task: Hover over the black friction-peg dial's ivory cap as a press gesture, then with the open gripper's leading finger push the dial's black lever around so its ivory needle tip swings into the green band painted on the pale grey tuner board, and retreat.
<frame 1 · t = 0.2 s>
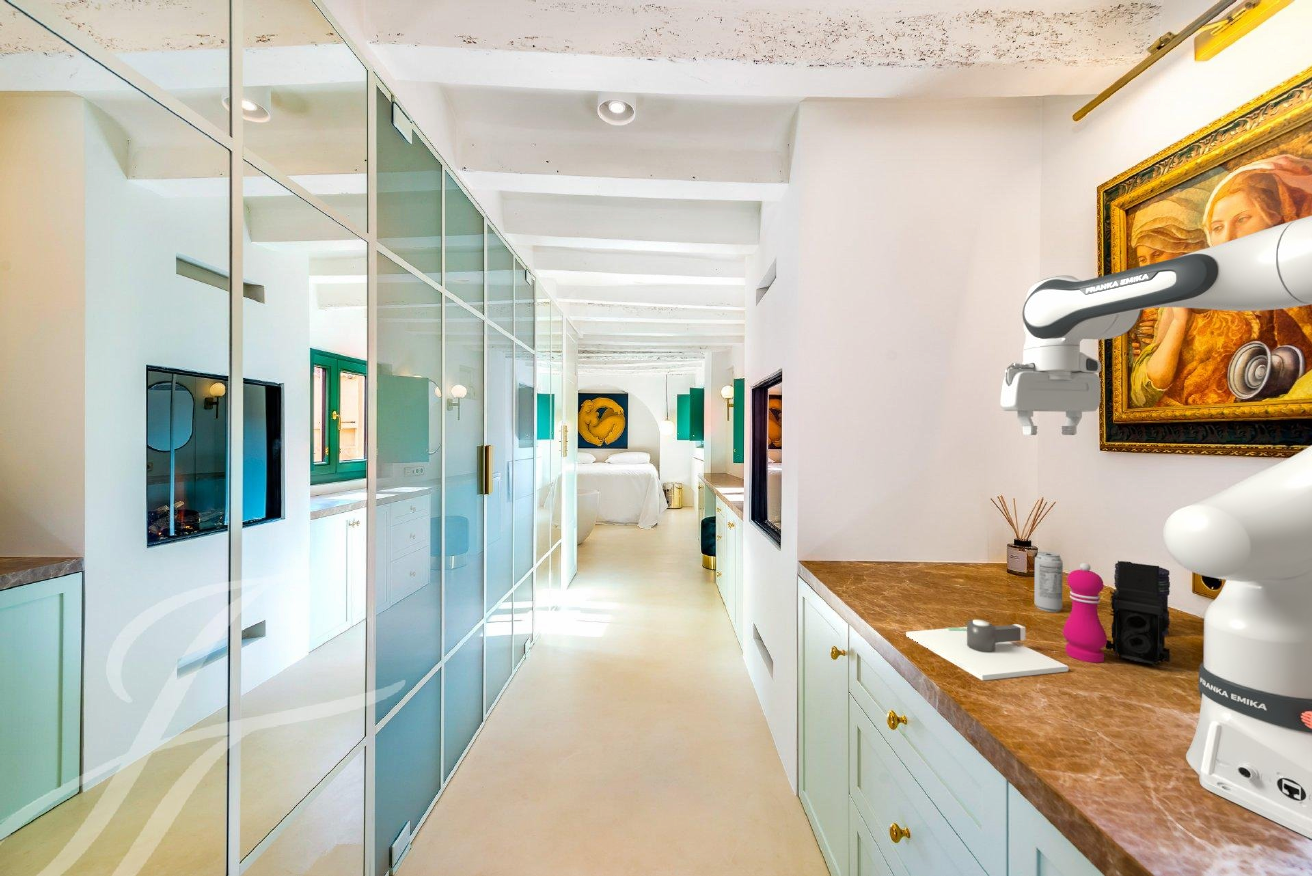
hand: (1049, 435, 100), 47 cm above the countertop, fingers open, 8 cm apart
storage jar: (1140, 629, 125), on the countertop
camera: (1137, 659, 109), on the countertop
dial: (996, 633, 112), point 4 cm above the countertop, hinge at 0.0°
tuner board: (980, 652, 112), on the countertop
pepper mill: (1084, 657, 110), on the countertop
energy drink can: (1048, 609, 139), on the countertop
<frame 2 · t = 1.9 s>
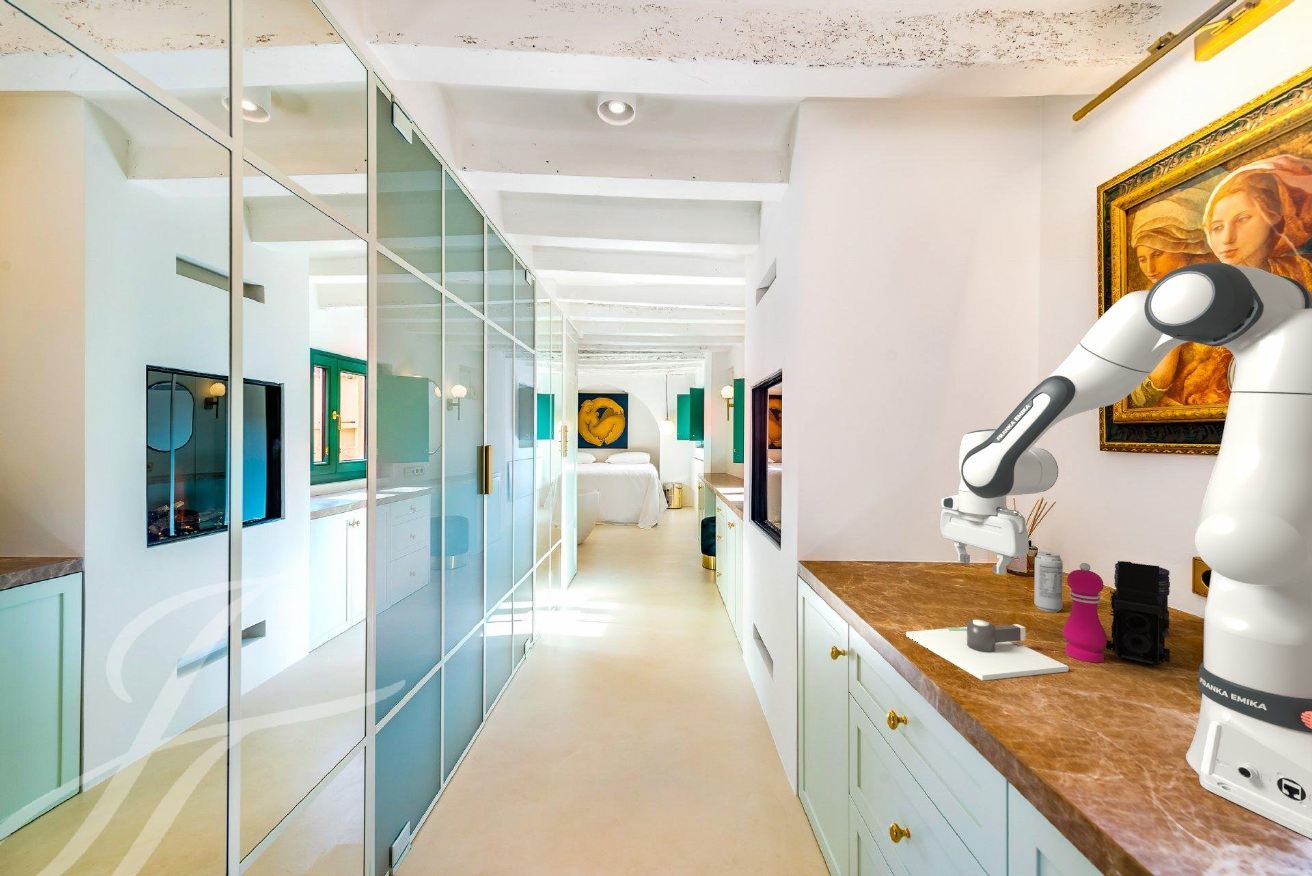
hand: (980, 567, 112), 18 cm above the countertop, fingers open, 8 cm apart
nothing on the countertop moved.
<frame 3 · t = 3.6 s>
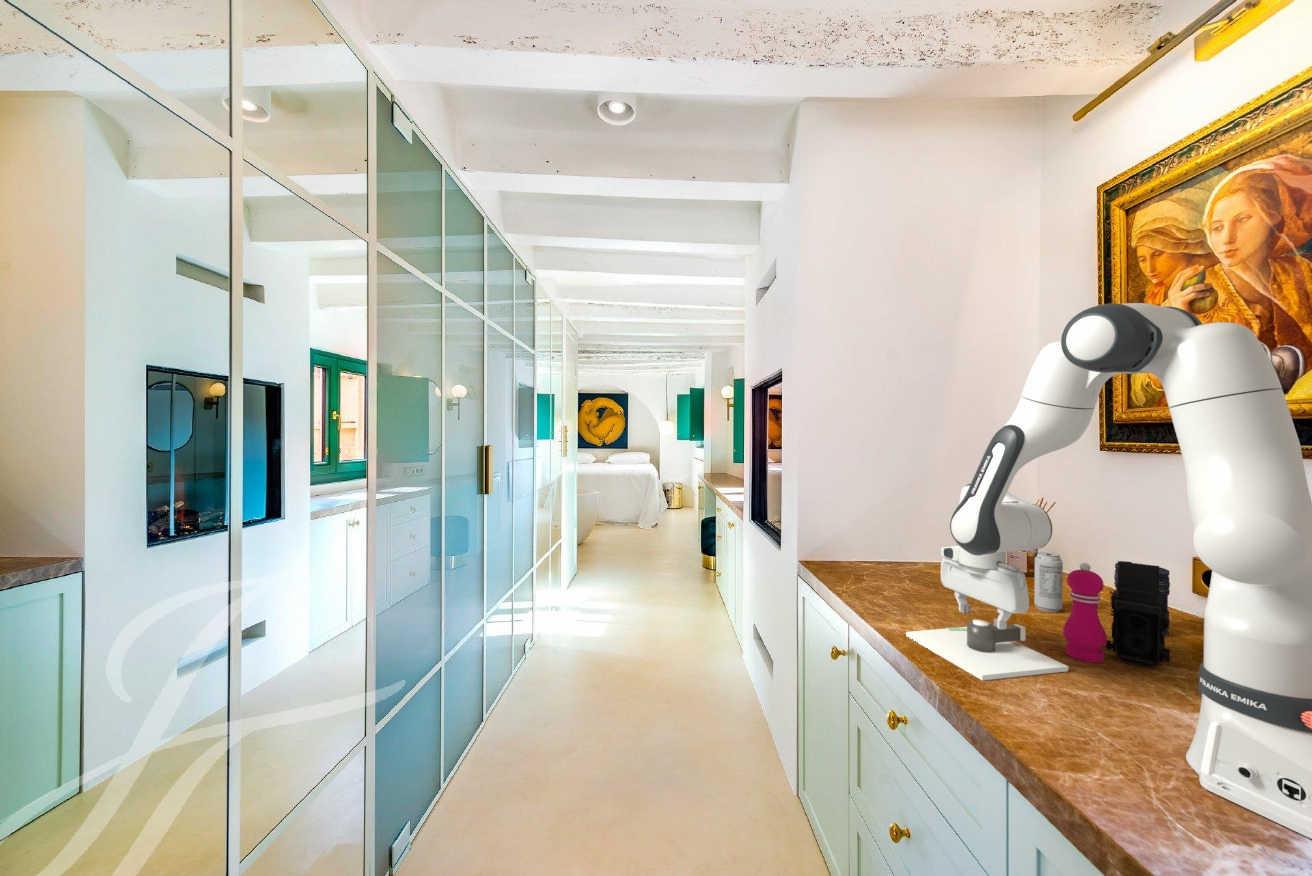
hand: (981, 620, 112), 7 cm above the countertop, fingers open, 8 cm apart
nothing on the countertop moved.
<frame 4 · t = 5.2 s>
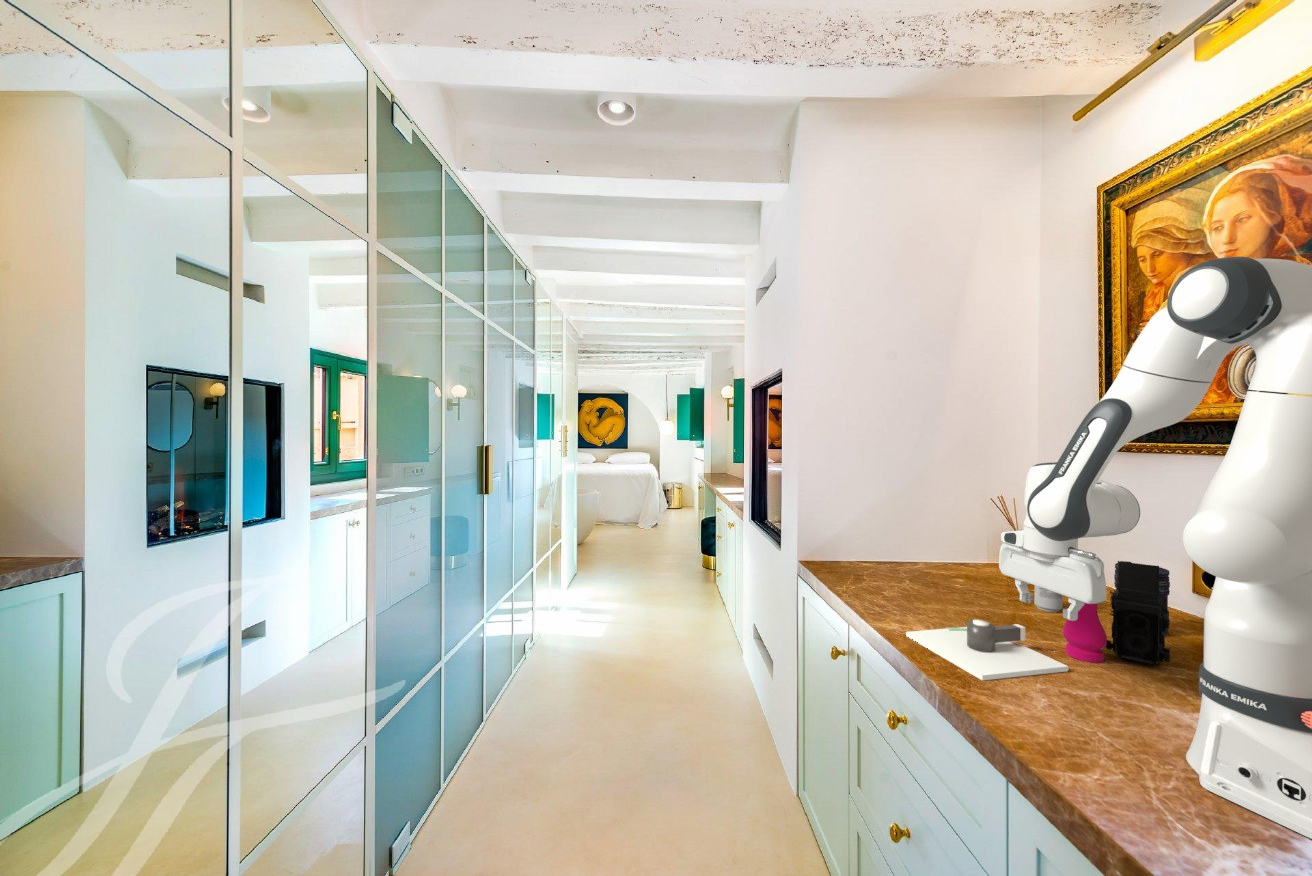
hand: (1047, 610, 104), 12 cm above the countertop, fingers open, 8 cm apart
nothing on the countertop moved.
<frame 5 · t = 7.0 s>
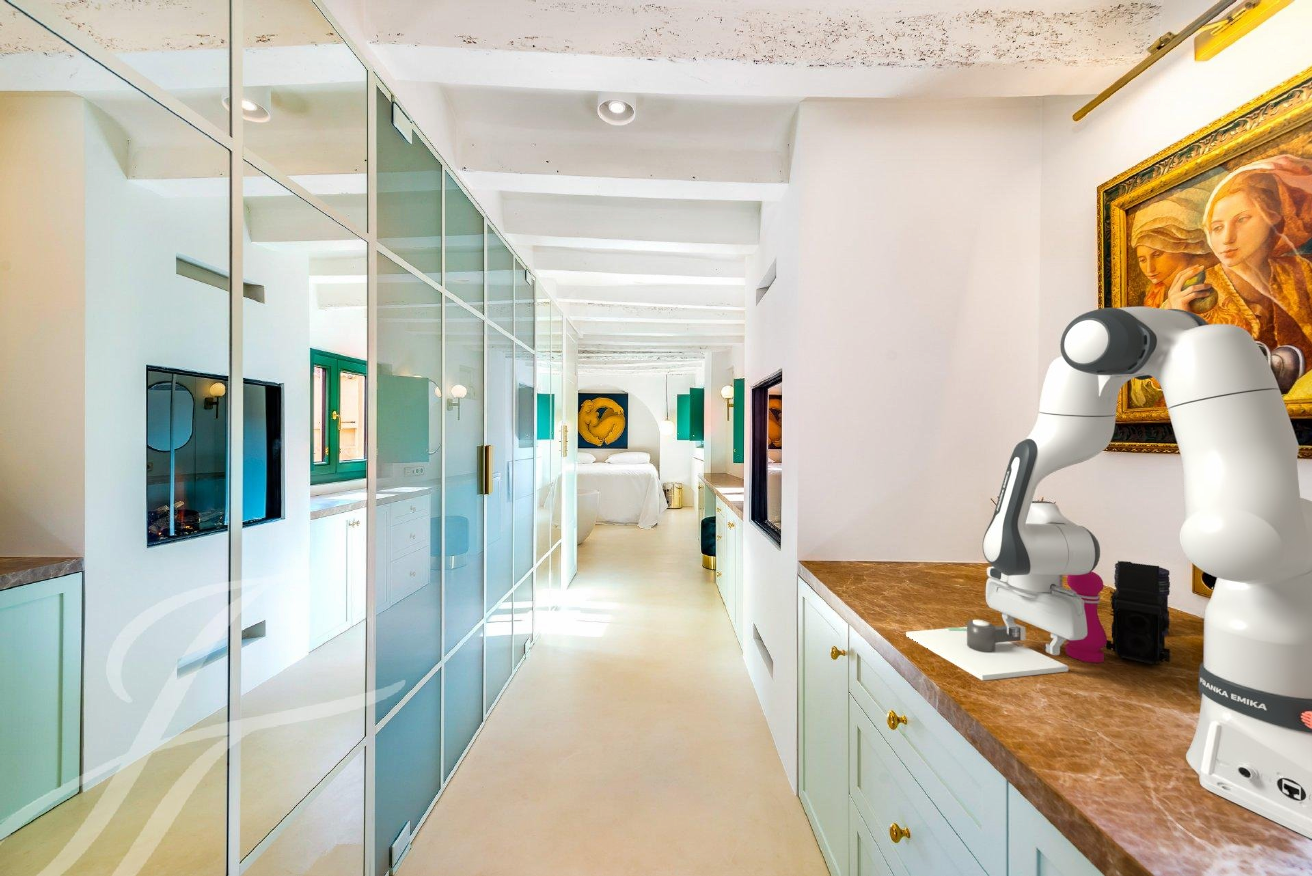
hand: (1032, 644, 107), 4 cm above the countertop, fingers open, 8 cm apart
dial: (996, 633, 112), point 4 cm above the countertop, hinge at 0.0°, touching gripper
everything else where it was.
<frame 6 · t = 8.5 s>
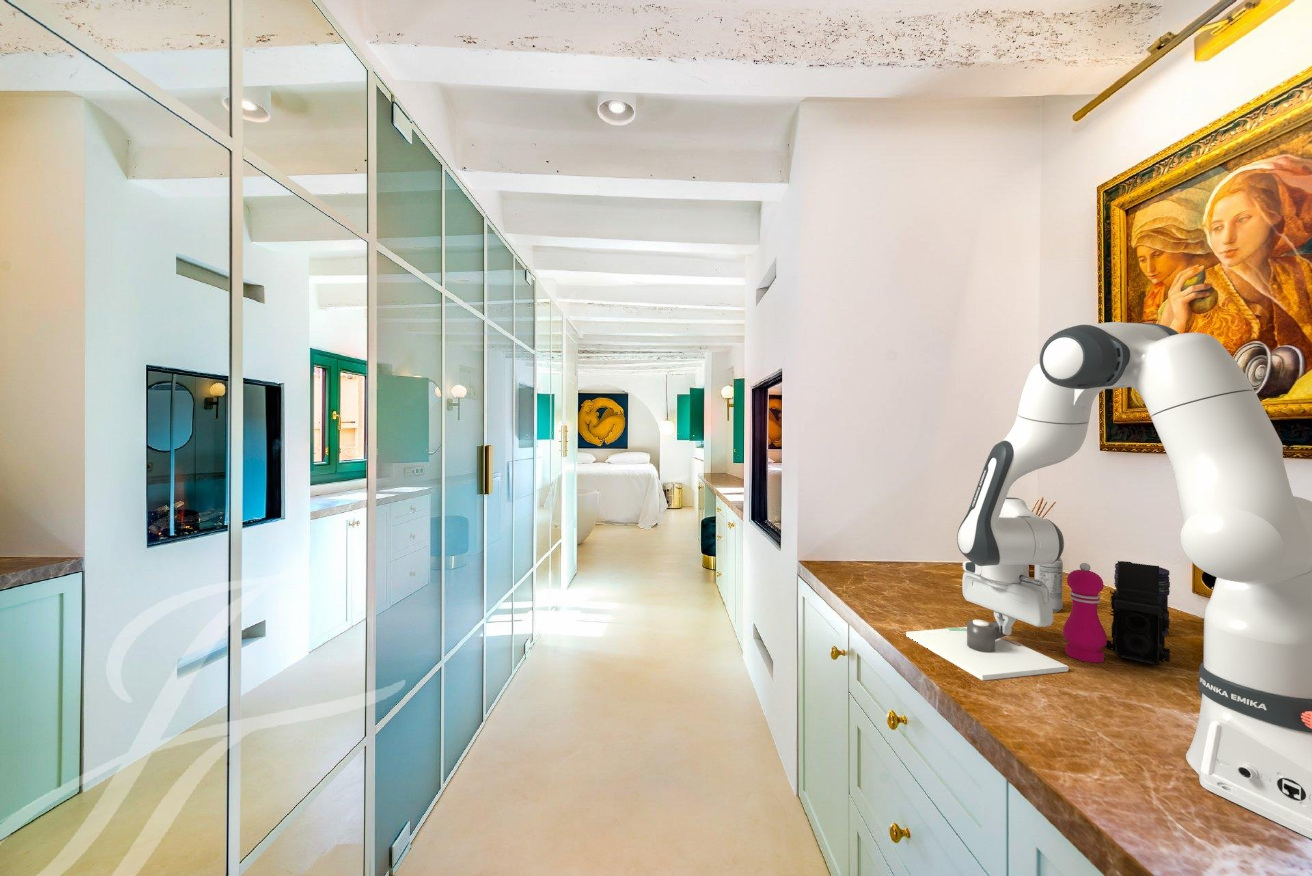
hand: (1004, 633, 113), 3 cm above the countertop, fingers closed, pressing on dial
dial: (990, 630, 114), point 4 cm above the countertop, hinge at 19.1°, touching gripper
everything else where it was.
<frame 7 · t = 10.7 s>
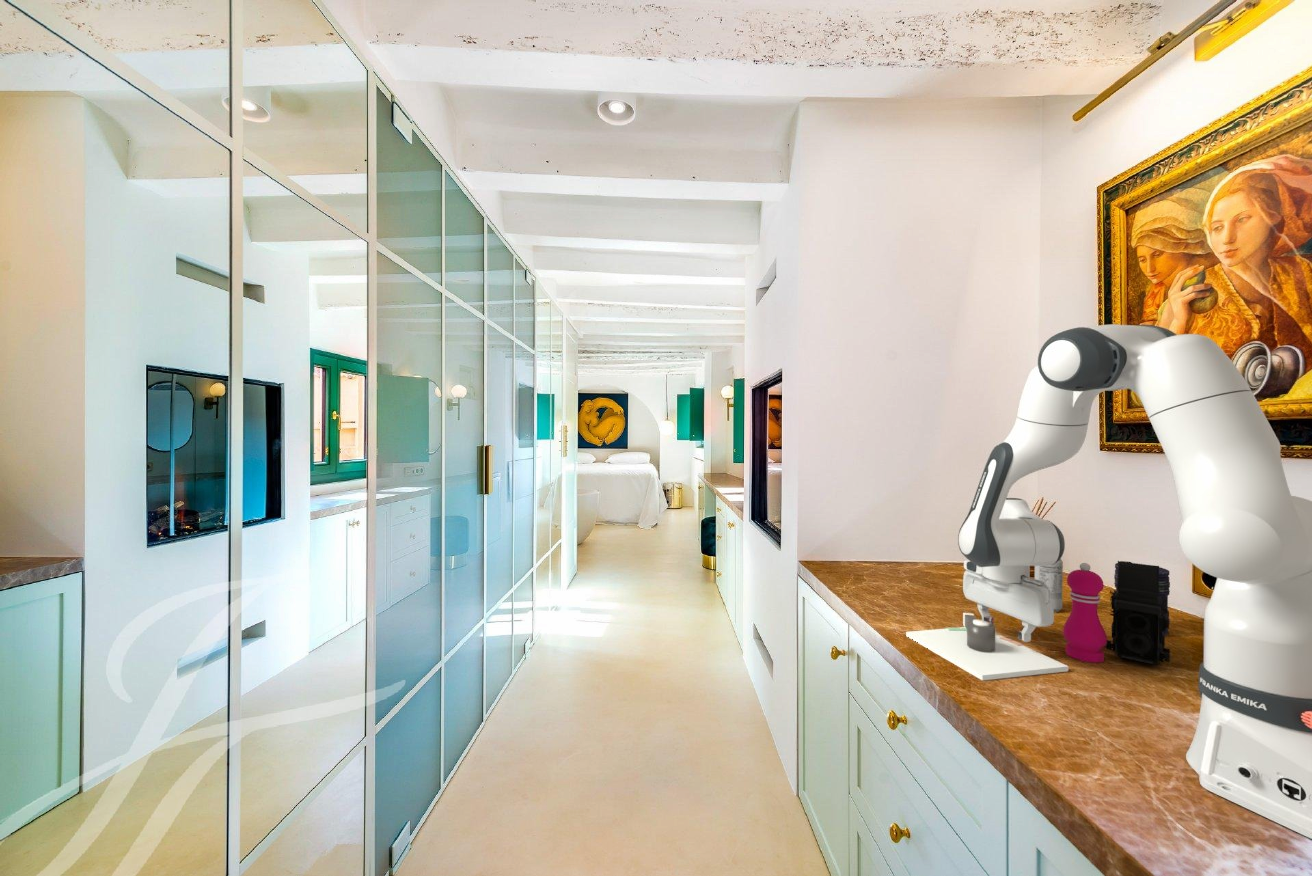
hand: (1005, 632, 114), 3 cm above the countertop, fingers open, 8 cm apart
dial: (975, 627, 115), point 4 cm above the countertop, hinge at 61.1°
everything else where it was.
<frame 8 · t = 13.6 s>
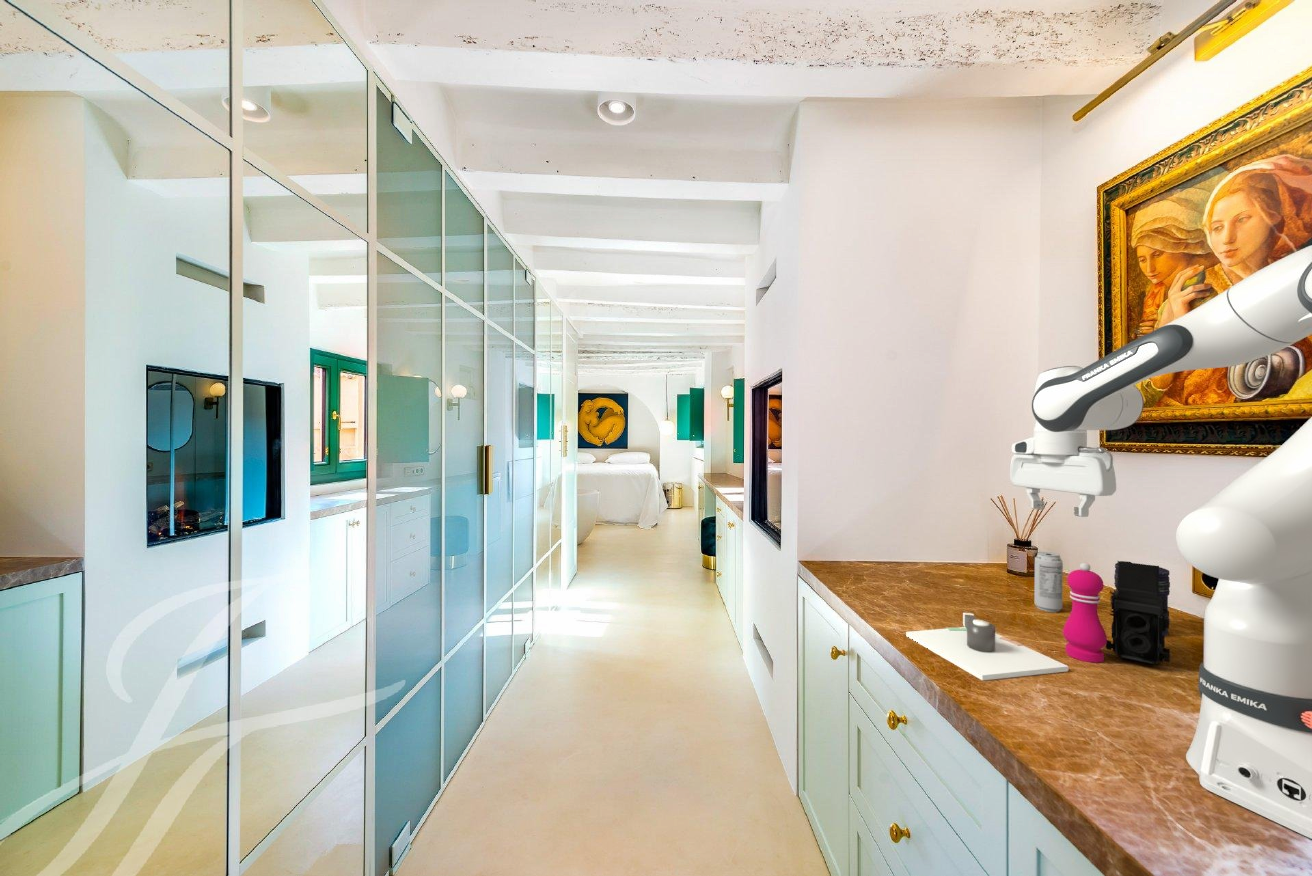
hand: (1058, 512, 107), 31 cm above the countertop, fingers open, 8 cm apart
nothing on the countertop moved.
at the end: dial at +61° (first picture: +0°) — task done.
